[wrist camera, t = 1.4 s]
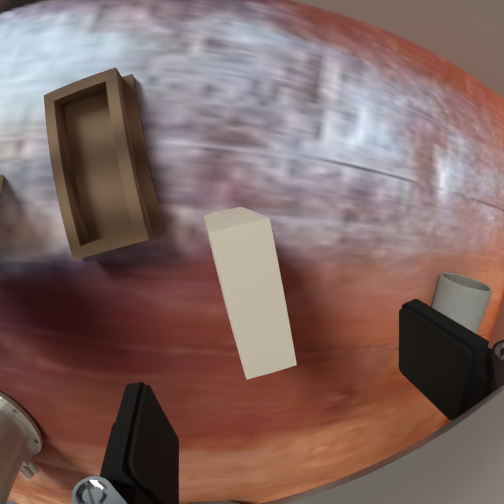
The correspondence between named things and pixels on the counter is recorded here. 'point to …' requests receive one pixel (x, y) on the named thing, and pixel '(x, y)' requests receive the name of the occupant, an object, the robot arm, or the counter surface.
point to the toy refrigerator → (1, 182)
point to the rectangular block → (252, 289)
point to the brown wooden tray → (101, 164)
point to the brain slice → (220, 503)
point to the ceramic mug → (462, 299)
